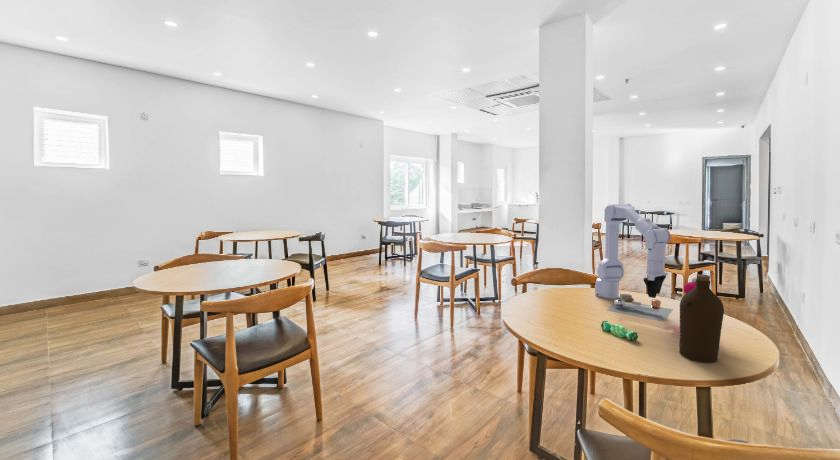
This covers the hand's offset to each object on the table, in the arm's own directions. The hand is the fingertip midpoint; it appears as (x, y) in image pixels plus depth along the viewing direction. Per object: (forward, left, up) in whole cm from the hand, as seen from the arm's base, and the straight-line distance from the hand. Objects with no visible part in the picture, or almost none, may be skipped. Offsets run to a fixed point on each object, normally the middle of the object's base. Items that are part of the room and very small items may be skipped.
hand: (654, 295), depth 143 cm
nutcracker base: (-6, +7, -10) cm, 13 cm away
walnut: (-11, +11, -9) cm, 18 cm away
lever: (-7, +4, -7) cm, 11 cm away
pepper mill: (+13, -7, -10) cm, 18 cm away
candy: (-6, -23, -10) cm, 26 cm away
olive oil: (+17, -26, -10) cm, 32 cm away
